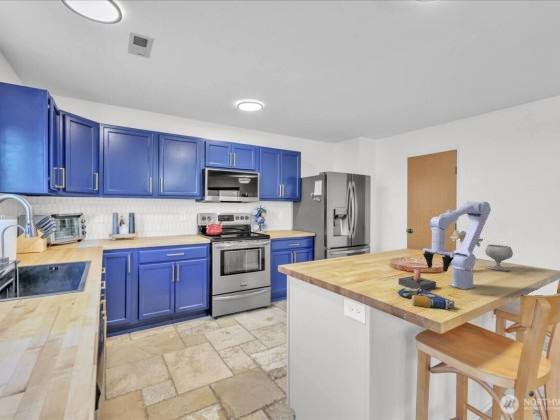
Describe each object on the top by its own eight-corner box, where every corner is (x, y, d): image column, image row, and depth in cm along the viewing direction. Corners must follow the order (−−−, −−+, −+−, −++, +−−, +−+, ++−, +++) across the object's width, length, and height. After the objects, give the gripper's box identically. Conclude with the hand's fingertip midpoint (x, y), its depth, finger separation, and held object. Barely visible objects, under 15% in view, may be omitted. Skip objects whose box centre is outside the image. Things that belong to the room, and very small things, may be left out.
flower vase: (473, 275, 161) (475, 232, 161) (443, 268, 178) (444, 229, 177) (486, 273, 167) (488, 232, 166) (456, 266, 184) (457, 229, 183)
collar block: (413, 281, 146) (413, 275, 146) (435, 287, 135) (436, 281, 135) (398, 284, 140) (398, 278, 140) (420, 291, 129) (420, 284, 129)
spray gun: (425, 313, 104) (458, 310, 108) (425, 302, 104) (458, 300, 108) (390, 296, 124) (419, 294, 128) (391, 286, 124) (419, 285, 128)
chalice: (516, 270, 176) (517, 246, 176) (506, 272, 169) (507, 248, 169) (490, 265, 189) (491, 243, 188) (480, 267, 182) (481, 245, 181)
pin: (416, 284, 140) (416, 269, 139) (421, 286, 137) (422, 270, 137) (412, 285, 138) (412, 269, 138) (417, 287, 136) (418, 271, 135)
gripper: (419, 240, 138) (418, 267, 138) (448, 244, 125) (447, 274, 125) (428, 239, 141) (427, 265, 141) (457, 243, 128) (456, 272, 129)
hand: (437, 269), depth 134 cm, fingers open, 7 cm apart
